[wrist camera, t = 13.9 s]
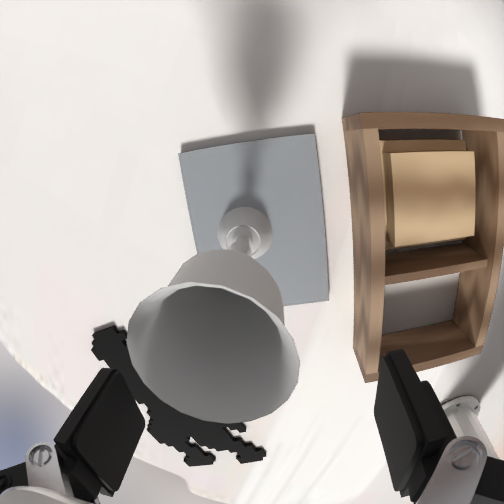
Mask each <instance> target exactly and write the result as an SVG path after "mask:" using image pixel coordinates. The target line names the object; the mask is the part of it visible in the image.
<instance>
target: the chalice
mask: <svg viewBox="0 0 504 504" xmlns="http://www.w3.org/2000/svg"><path fill="white" fill-rule="evenodd" d="M272 239H273V230H272V226H271V223H270V222H269V220H268V219H267V217H266V216H265V215H264V214H263V213H261V212H260V211H259V210H256V209H254V208H251V207H239V208H235V209H232V210H231V211H229V212H228V213H226V214H225V215H224V217H223V218H222V219H221V221H220V223H219V226H218V240H219V243H220V245H221V247H222V248H223V249H216V250H211V251H207V252H203V253H199V254H197V255H195V256H194V257H192V258H191V259H189V260H188V261H186V262H185V263H184V264H183V265H182V266H181V268H180V269H179V271H178V272H177V274H176V275H175V277H174V278H173V280H172V281H171V282H170V284H169V285H168V287H164V288H160V289H159V290H157V291H156V292H154V293H153V294H152V295H150V296H149V297H147V298H146V299H144V300H143V301H141V302H140V303H139V305H138V307H137V308H136V310H135V312H134V314H133V315H132V317H131V319H130V320H129V324H128V334H127V347H128V351H129V354H130V358H131V362H132V365H133V366H134V368H135V370H136V371H137V373H138V375H139V376H140V378H141V379H142V381H143V383H144V384H145V385H146V386H147V387H148V388H149V389H150V390H151V391H152V392H153V393H154V394H155V395H156V396H157V397H158V398H159V399H160V400H162V401H163V402H165V403H167V404H168V405H170V406H171V407H173V408H175V409H176V410H178V411H180V412H181V413H184V414H187V415H190V416H192V417H195V418H198V419H201V420H204V421H211V422H219V423H227V424H228V423H239V422H248V421H253V420H255V419H258V418H261V417H263V416H266V415H268V414H271V413H272V412H274V411H275V410H276V409H277V408H279V407H280V406H281V405H282V404H284V403H285V402H286V401H287V400H288V399H289V397H290V395H291V393H292V392H293V390H294V388H295V386H296V385H297V383H298V376H299V367H300V360H299V356H298V353H297V349H296V346H295V342H294V339H293V338H292V336H291V335H290V333H289V332H288V331H287V329H286V328H285V325H284V310H283V301H282V297H281V294H280V290H279V287H278V285H277V283H276V282H275V281H274V279H273V278H272V276H271V275H270V273H269V272H268V270H266V269H265V268H264V267H263V266H262V265H261V264H259V263H258V262H257V261H256V260H254V259H257V258H258V257H260V256H262V255H263V254H264V253H265V252H266V251H267V250H268V249H269V247H270V245H271V242H272Z"/></svg>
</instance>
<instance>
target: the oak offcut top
mask: <svg viewBox="0 0 504 504" xmlns="http://www.w3.org/2000/svg"><path fill="white" fill-rule="evenodd" d="M382 156H383V167H384V179H385V194H386V214H387V240H388V241H389V242H390V243H391V244H392V245H393V246H394V247H398V246H406V245H413V244H420V243H427V242H434V241H441V240H448V239H455V238H461V237H468V236H474V229H475V195H476V191H475V158H474V151H466V150H428V151H400V152H382Z"/></svg>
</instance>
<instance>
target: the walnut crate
mask: <svg viewBox="0 0 504 504" xmlns="http://www.w3.org/2000/svg"><path fill="white" fill-rule="evenodd" d="M342 123H343V131H344V139H345V147H346V156H347V166H348V176H349V187H350V200H351V214H352V232H353V257H354V337H353V349H354V352H355V355H356V358H357V361H358V364H359V366H360V369H361V372H362V375H363V378H364V381H365V383H368V382H373V381H378V378H379V370H380V361H381V357H383V356H385V355H386V352H387V351H392V350H398V349H403V350H404V351H405V353H406V355H407V357H408V358H409V360H410V362H411V364H412V366H413V368H414V370H415V372H419V371H423V370H426V369H430V368H434V367H438V366H441V365H445V364H448V363H452V362H455V361H458V360H462V359H465V358H468V357H471V356H474V355H477V354H480V353H481V351H482V348H483V344H484V341H485V337H486V334H487V330H488V326H489V322H490V318H491V314H492V310H493V305H494V301H495V296H496V291H497V285H498V280H499V274H500V268H501V261H502V254H503V246H504V119H499V118H491V117H482V116H472V115H460V114H445V113H423V112H366V113H358V114H355V115H351V116H348V117H345V118H342ZM386 129H441V130H462V138H463V140H465V144H466V151H474V158H475V191H476V195H475V229H474V236H468V237H466V239H463V243H458V244H451V245H445V246H438V247H430V248H423V249H416V250H409V251H402V252H394V253H387V254H385V209H384V188H383V173H382V161H381V150H380V140H379V132H378V130H386ZM458 272H460V276H459V283H458V291H457V297H456V303H455V309H454V315H453V320H450V321H446V322H442V323H437V324H433V325H429V326H424V327H420V328H415V329H410V330H405V331H400V332H395V333H390V334H384V335H382V323H383V308H384V287H385V285H388V284H395V283H401V282H407V281H413V280H419V279H425V278H431V277H436V276H442V275H447V274H453V273H458Z"/></svg>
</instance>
